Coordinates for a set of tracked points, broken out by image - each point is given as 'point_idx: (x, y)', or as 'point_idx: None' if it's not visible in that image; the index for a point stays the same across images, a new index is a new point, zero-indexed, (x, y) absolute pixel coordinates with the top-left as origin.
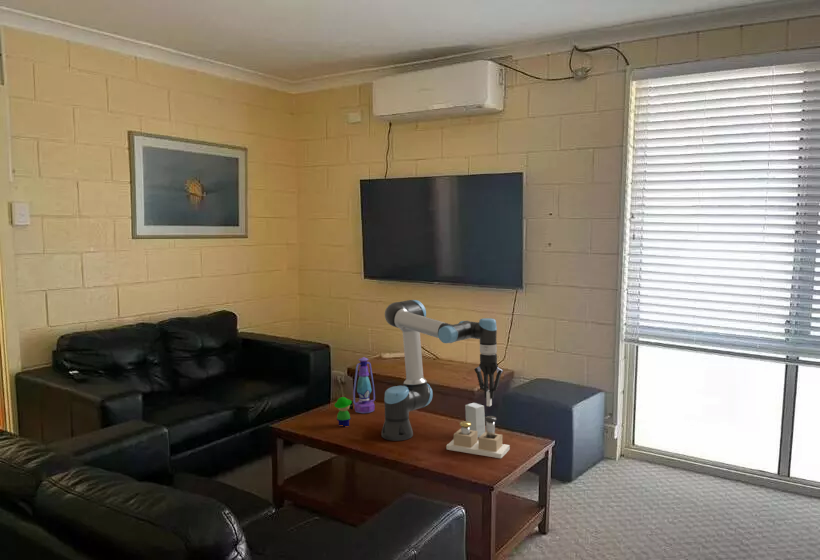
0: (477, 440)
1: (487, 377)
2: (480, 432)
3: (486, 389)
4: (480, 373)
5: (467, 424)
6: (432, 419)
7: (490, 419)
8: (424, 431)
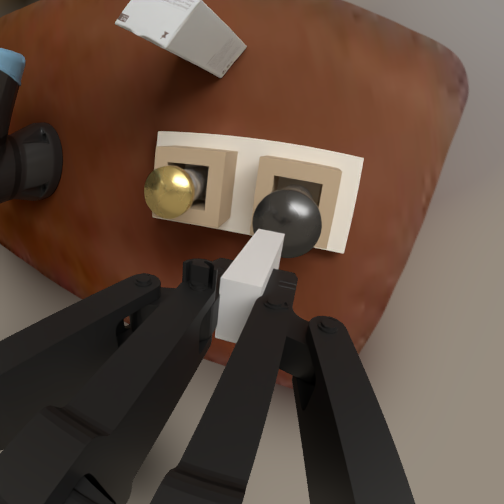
0: (235, 139)
1: (134, 436)
2: (227, 60)
3: (206, 349)
4: (1, 408)
5: (179, 211)
6: (78, 11)
7: (291, 257)
8: (74, 98)
